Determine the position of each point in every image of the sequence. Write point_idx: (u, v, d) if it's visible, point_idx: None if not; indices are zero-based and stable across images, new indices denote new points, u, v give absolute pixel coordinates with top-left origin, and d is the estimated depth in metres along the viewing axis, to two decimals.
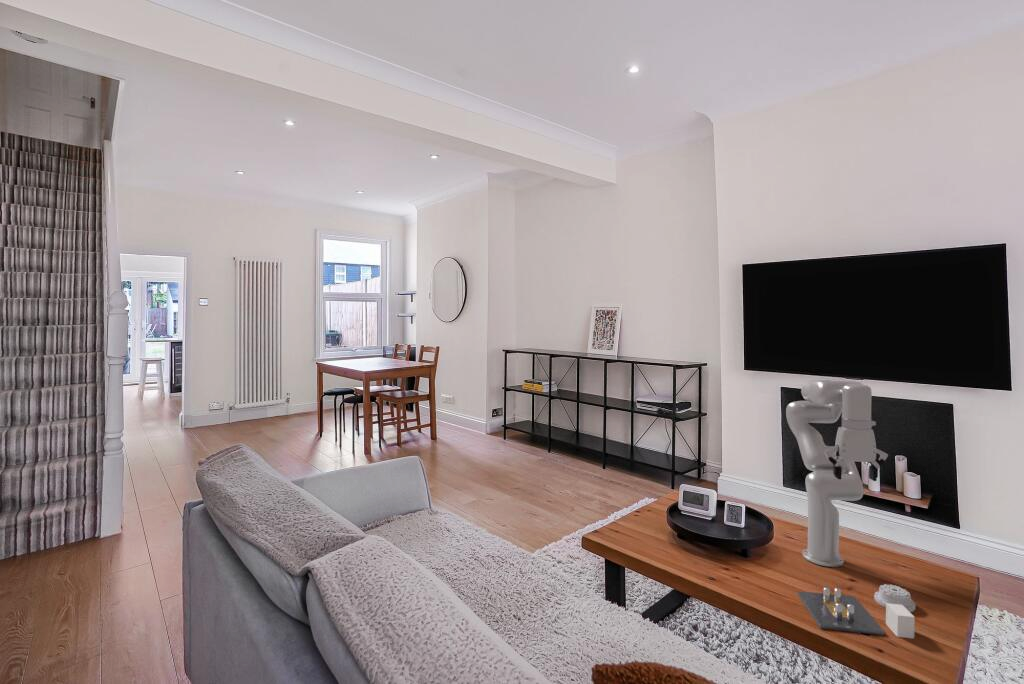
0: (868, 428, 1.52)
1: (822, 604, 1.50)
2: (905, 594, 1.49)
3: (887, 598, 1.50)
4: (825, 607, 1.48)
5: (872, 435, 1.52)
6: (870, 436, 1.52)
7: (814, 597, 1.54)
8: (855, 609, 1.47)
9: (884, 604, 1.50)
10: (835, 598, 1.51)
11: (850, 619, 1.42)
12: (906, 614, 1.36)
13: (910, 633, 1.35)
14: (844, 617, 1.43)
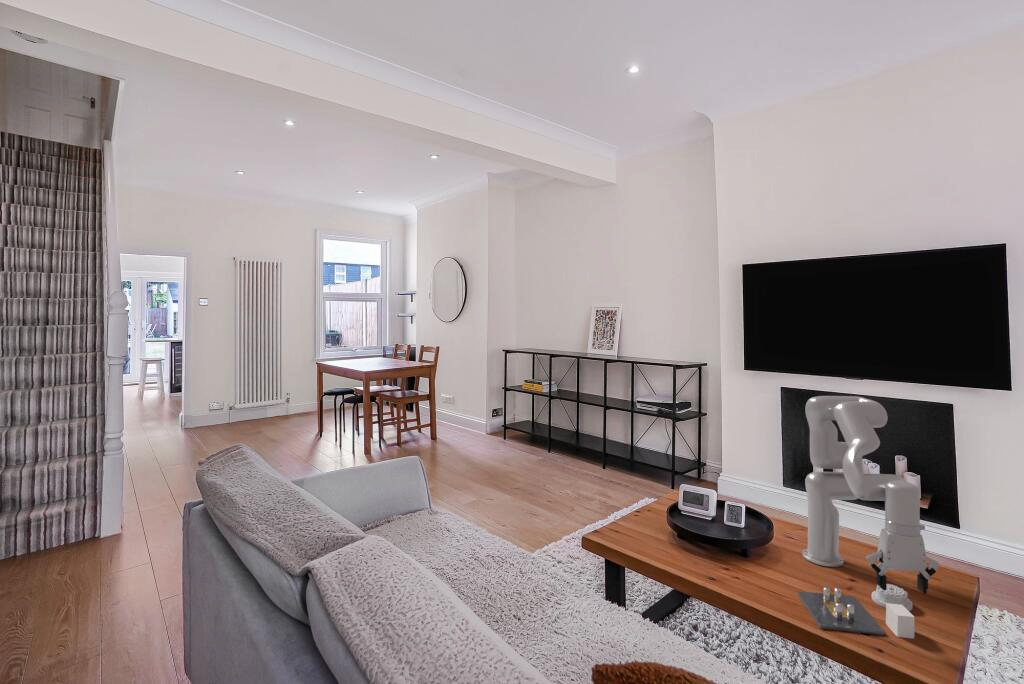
0: (917, 534, 1.34)
1: (822, 604, 1.50)
2: (902, 593, 1.50)
3: (884, 597, 1.51)
4: (825, 607, 1.48)
5: (921, 542, 1.35)
6: (919, 543, 1.35)
7: (814, 597, 1.54)
8: (855, 609, 1.47)
9: (881, 603, 1.50)
10: (835, 598, 1.51)
11: (850, 619, 1.42)
12: (905, 614, 1.36)
13: (910, 633, 1.35)
14: (844, 617, 1.43)
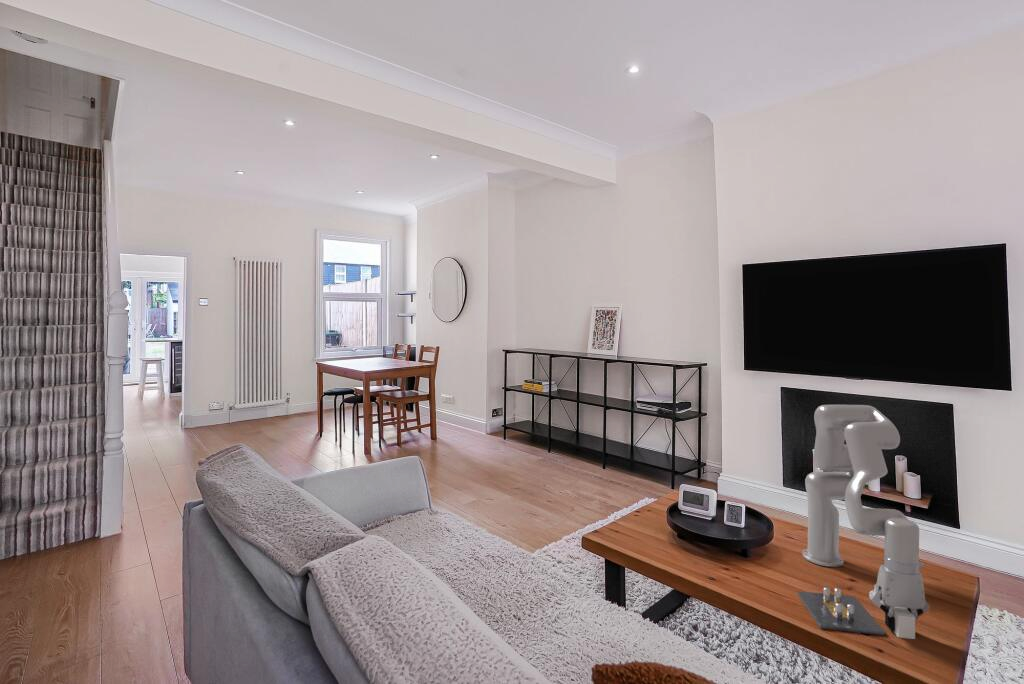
0: (916, 572, 1.34)
1: (822, 604, 1.50)
2: None
3: None
4: (825, 607, 1.48)
5: (920, 579, 1.35)
6: (918, 581, 1.35)
7: (814, 597, 1.54)
8: (855, 609, 1.47)
9: None
10: (835, 598, 1.51)
11: (850, 619, 1.42)
12: (906, 614, 1.36)
13: (911, 633, 1.35)
14: (844, 617, 1.43)
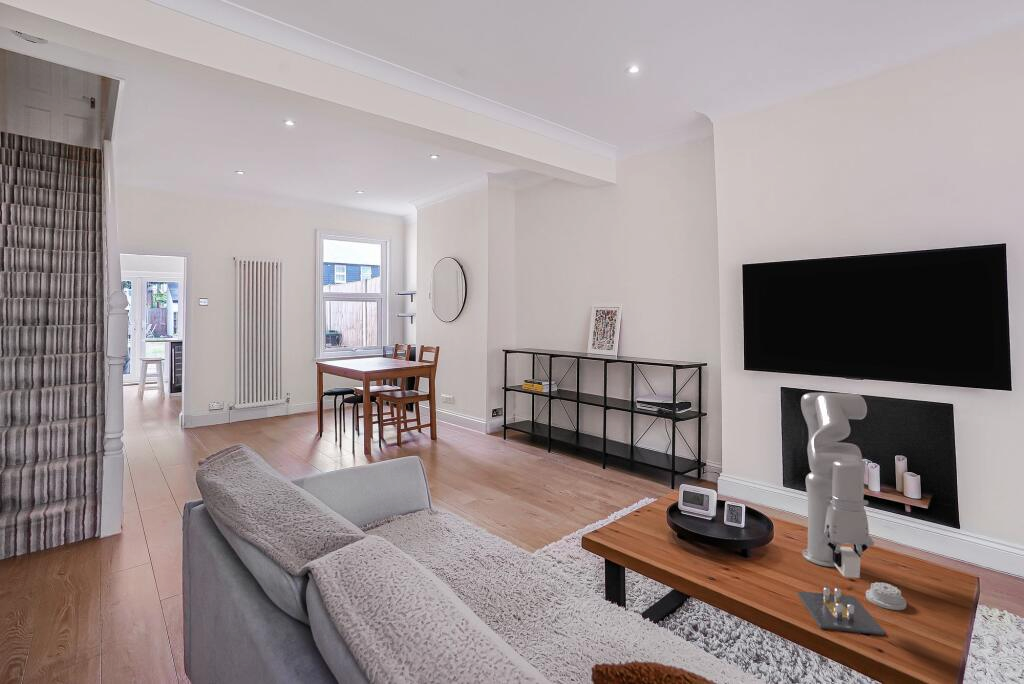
0: (860, 509, 1.41)
1: (822, 604, 1.50)
2: (896, 592, 1.51)
3: (878, 596, 1.52)
4: (825, 607, 1.48)
5: (864, 516, 1.42)
6: (862, 517, 1.42)
7: (814, 597, 1.54)
8: (855, 609, 1.47)
9: (875, 602, 1.51)
10: (835, 598, 1.51)
11: (850, 619, 1.42)
12: (852, 555, 1.43)
13: (856, 573, 1.42)
14: (844, 617, 1.43)
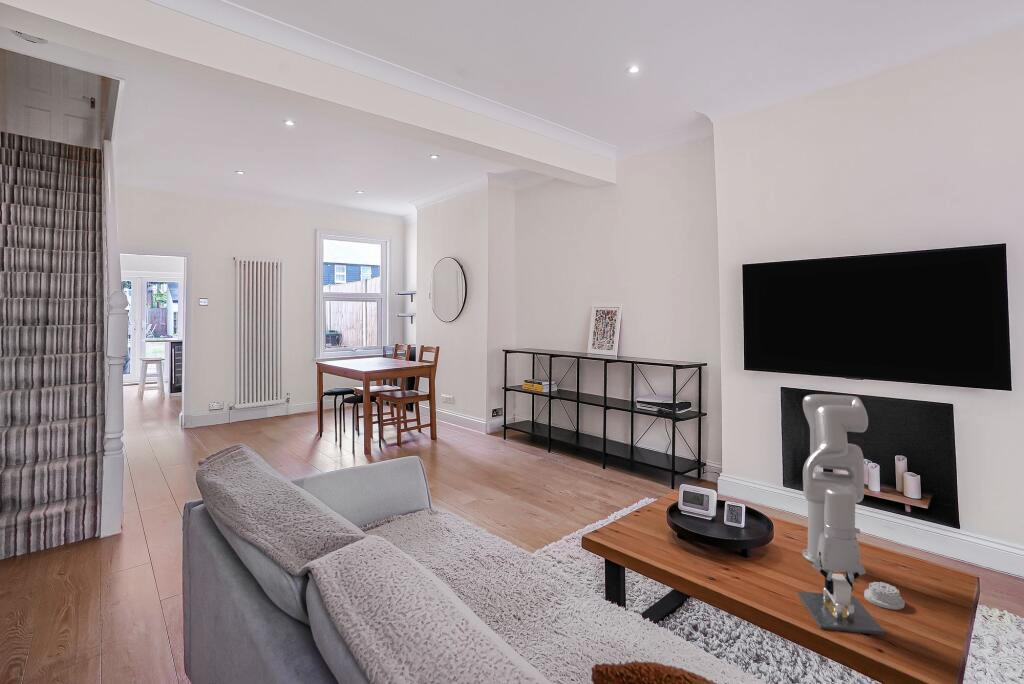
0: (852, 538, 1.43)
1: (822, 604, 1.50)
2: (894, 591, 1.51)
3: (876, 595, 1.52)
4: (825, 607, 1.48)
5: (856, 545, 1.44)
6: (854, 546, 1.44)
7: (814, 597, 1.54)
8: (855, 609, 1.47)
9: (873, 601, 1.52)
10: None
11: (850, 619, 1.42)
12: (844, 584, 1.44)
13: (846, 601, 1.44)
14: (844, 617, 1.43)
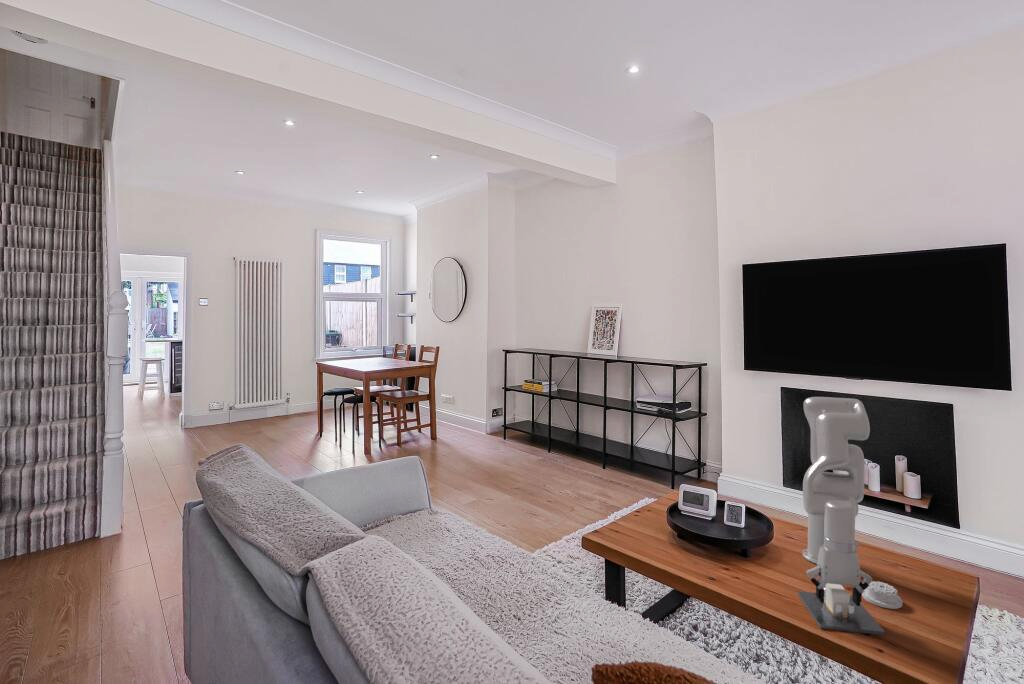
0: (851, 551, 1.43)
1: (822, 604, 1.50)
2: (892, 591, 1.51)
3: (874, 595, 1.52)
4: (825, 607, 1.48)
5: (856, 558, 1.44)
6: (854, 559, 1.44)
7: (814, 597, 1.54)
8: (855, 609, 1.47)
9: (871, 601, 1.52)
10: None
11: (850, 619, 1.42)
12: (842, 592, 1.45)
13: (845, 610, 1.44)
14: (844, 617, 1.43)
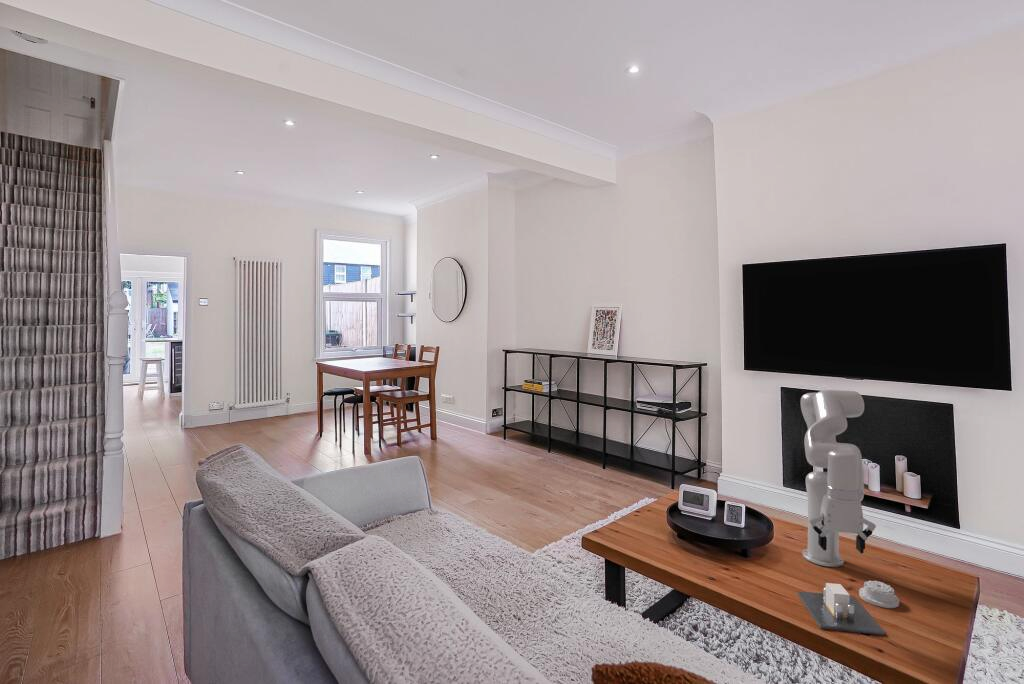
0: (855, 498, 1.43)
1: (822, 604, 1.50)
2: (889, 590, 1.52)
3: (871, 594, 1.53)
4: (825, 607, 1.48)
5: (859, 505, 1.44)
6: (857, 506, 1.44)
7: (814, 597, 1.54)
8: (855, 609, 1.47)
9: (868, 600, 1.52)
10: None
11: (850, 619, 1.42)
12: (842, 592, 1.45)
13: (845, 610, 1.44)
14: (844, 617, 1.43)
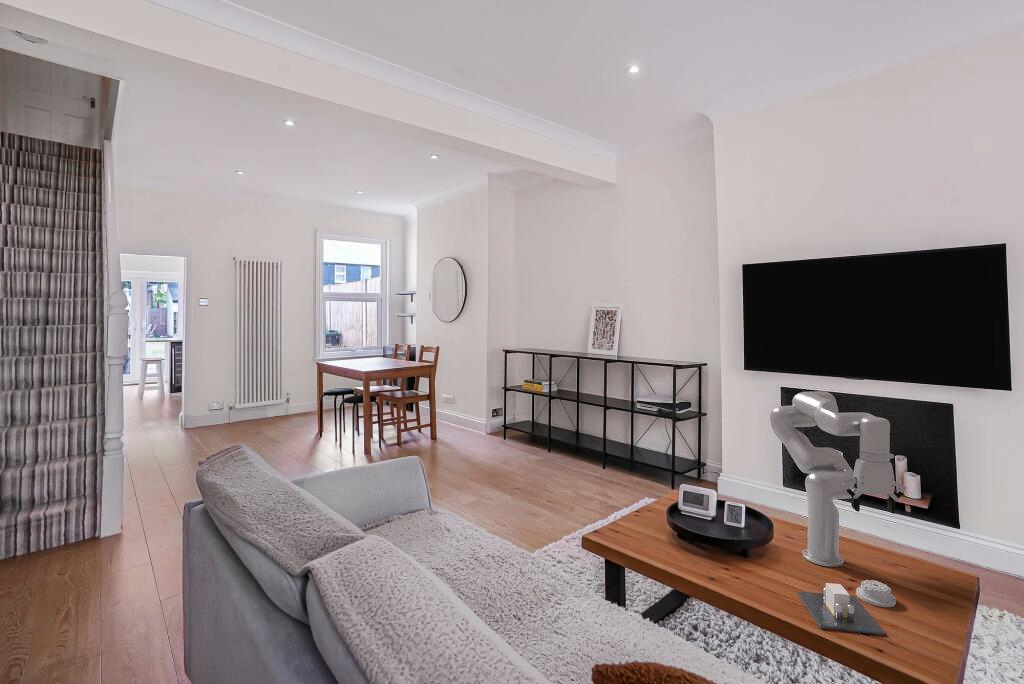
0: (886, 461, 1.53)
1: (822, 604, 1.50)
2: (886, 589, 1.52)
3: (868, 593, 1.53)
4: (825, 607, 1.48)
5: (890, 468, 1.53)
6: (888, 469, 1.53)
7: (814, 597, 1.54)
8: (855, 609, 1.47)
9: (865, 599, 1.53)
10: None
11: (850, 619, 1.42)
12: (842, 592, 1.45)
13: (845, 610, 1.44)
14: (844, 617, 1.43)
